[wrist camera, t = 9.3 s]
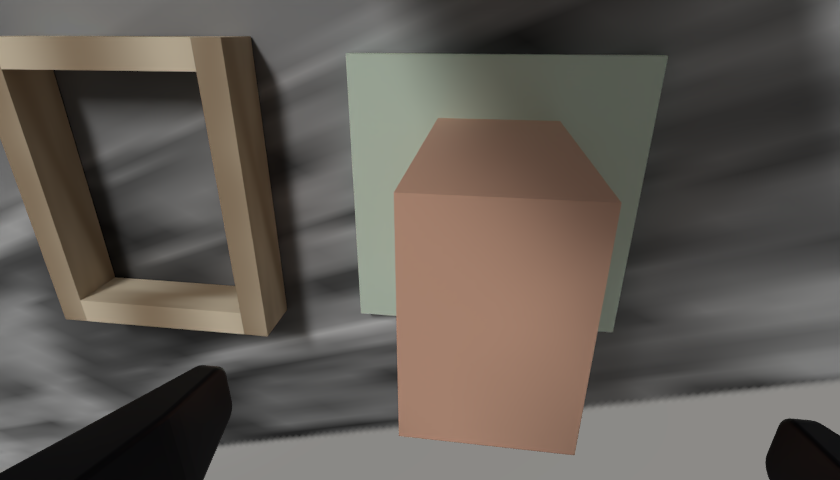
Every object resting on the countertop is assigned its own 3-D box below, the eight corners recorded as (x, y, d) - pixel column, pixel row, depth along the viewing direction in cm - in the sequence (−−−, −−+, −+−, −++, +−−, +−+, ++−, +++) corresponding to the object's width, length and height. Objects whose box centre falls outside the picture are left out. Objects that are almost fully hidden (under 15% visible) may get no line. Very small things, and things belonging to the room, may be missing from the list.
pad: (661, 55, 15) (668, 55, 14) (609, 323, 19) (612, 332, 18) (350, 52, 16) (345, 53, 15) (364, 305, 20) (361, 313, 20)
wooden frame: (250, 36, 16) (220, 37, 14) (287, 309, 21) (267, 336, 19) (18, 35, 17) (-37, 36, 16) (101, 294, 22) (66, 319, 20)
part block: (560, 121, 15) (621, 202, 8) (540, 282, 18) (574, 455, 11) (438, 117, 16) (393, 192, 9) (435, 275, 18) (399, 436, 11)
